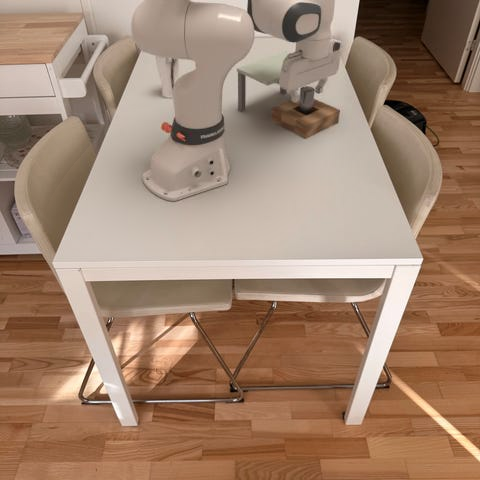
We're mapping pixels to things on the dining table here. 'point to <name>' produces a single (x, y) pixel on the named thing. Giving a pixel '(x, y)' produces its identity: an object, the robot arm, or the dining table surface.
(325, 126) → the socket plate
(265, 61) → the pale green platform
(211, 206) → the dining table surface
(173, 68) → the cream rounded piece
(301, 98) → the peg
